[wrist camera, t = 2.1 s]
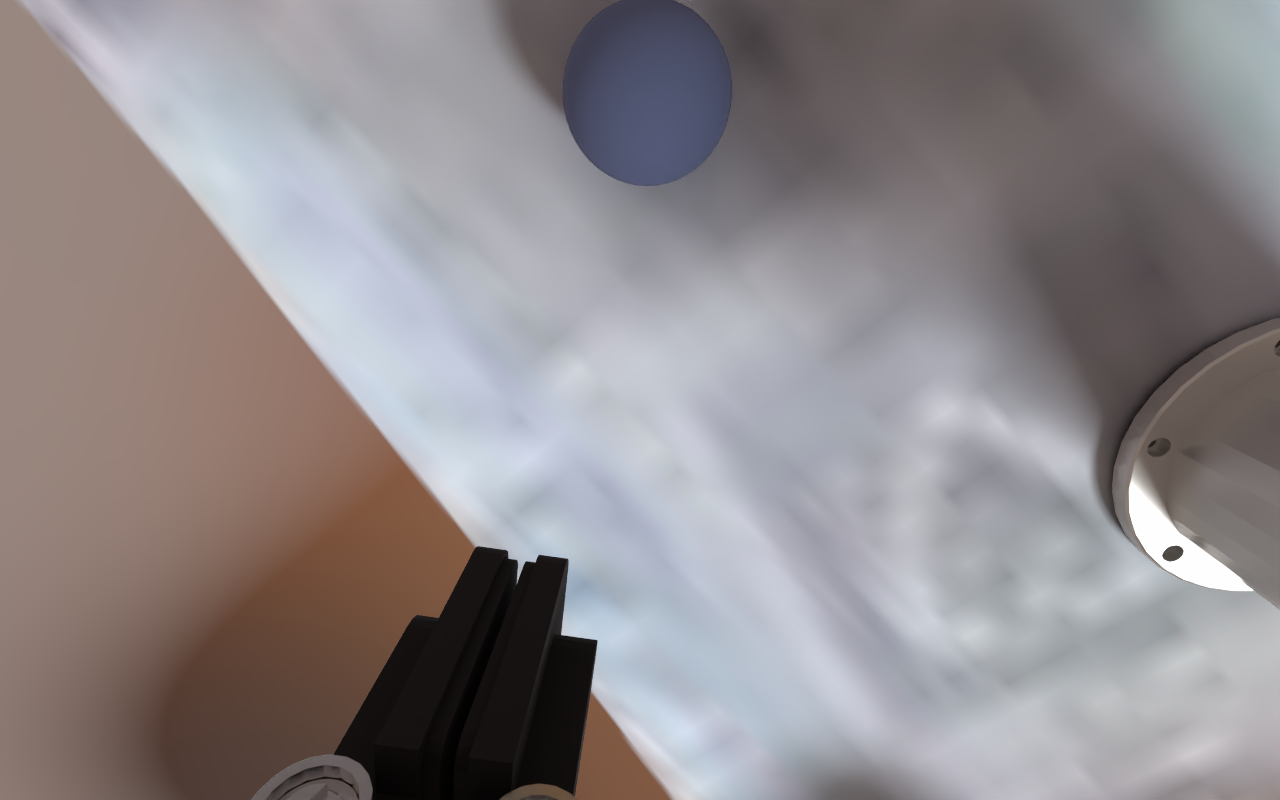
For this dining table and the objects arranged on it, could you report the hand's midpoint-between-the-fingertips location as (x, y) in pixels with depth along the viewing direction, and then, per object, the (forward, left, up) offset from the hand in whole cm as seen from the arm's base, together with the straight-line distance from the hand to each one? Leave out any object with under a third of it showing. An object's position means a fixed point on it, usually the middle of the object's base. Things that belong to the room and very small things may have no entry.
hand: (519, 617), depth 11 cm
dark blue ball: (0, -10, -13) cm, 17 cm away
